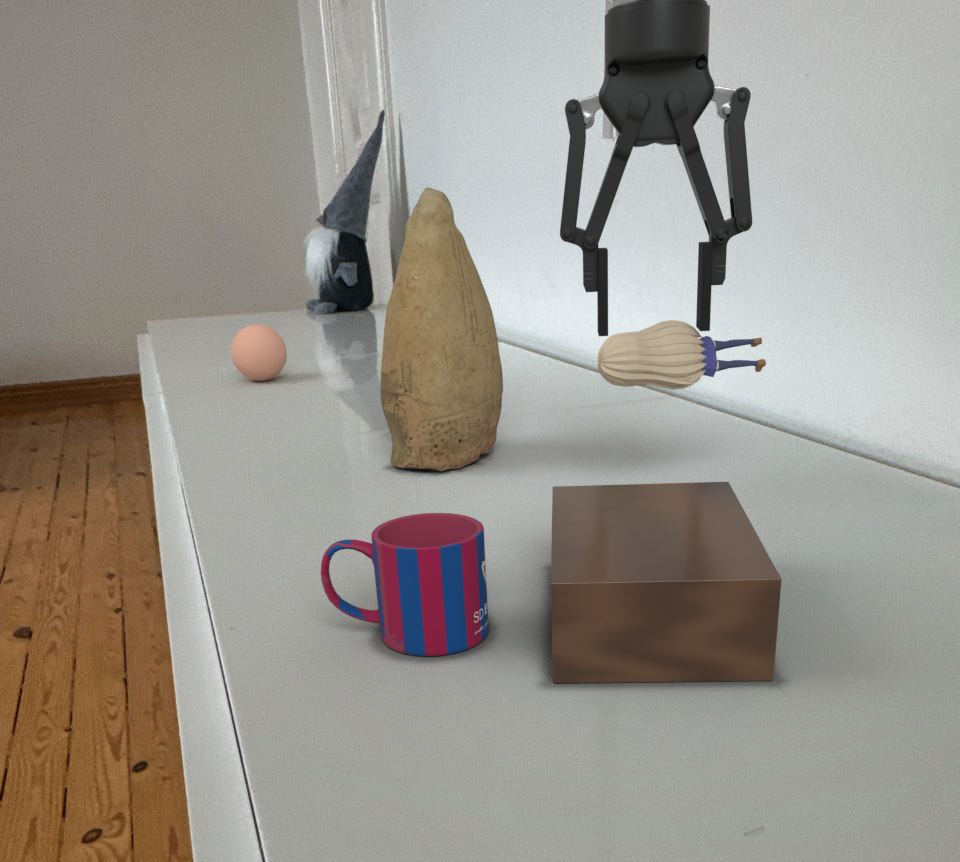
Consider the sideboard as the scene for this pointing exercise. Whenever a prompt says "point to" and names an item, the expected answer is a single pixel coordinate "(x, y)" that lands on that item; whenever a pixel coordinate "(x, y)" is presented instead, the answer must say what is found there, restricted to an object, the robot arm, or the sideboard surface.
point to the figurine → (666, 356)
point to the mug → (423, 583)
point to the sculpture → (439, 348)
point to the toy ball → (258, 352)
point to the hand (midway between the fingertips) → (652, 330)
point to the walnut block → (659, 586)
